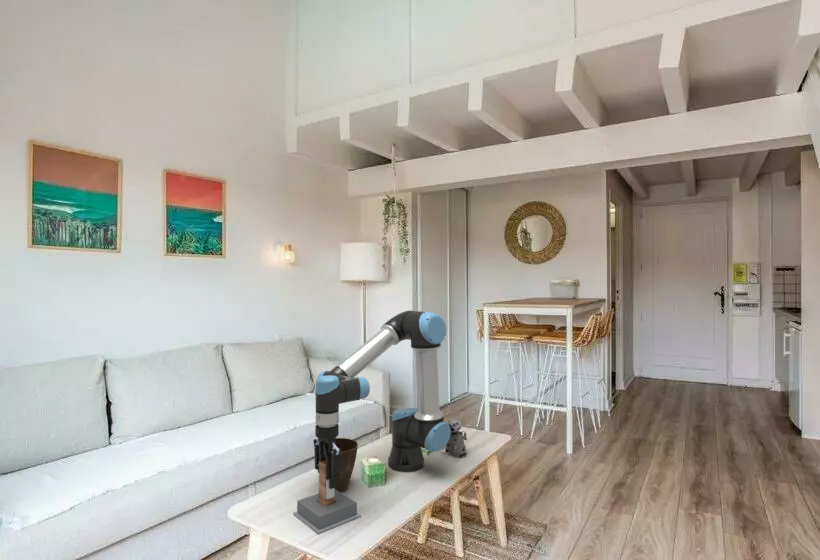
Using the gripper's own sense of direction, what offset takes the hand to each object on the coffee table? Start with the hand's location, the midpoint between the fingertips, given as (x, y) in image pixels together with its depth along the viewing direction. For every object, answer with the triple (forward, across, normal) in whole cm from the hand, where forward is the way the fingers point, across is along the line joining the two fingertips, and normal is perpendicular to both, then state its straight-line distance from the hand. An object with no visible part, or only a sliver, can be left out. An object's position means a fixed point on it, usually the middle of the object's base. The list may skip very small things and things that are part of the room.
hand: (326, 495), depth 157 cm
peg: (+3, 0, 0) cm, 3 cm away
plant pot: (+7, -15, +14) cm, 22 cm away
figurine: (+7, -8, +69) cm, 70 cm away
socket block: (+7, 0, 0) cm, 7 cm away
